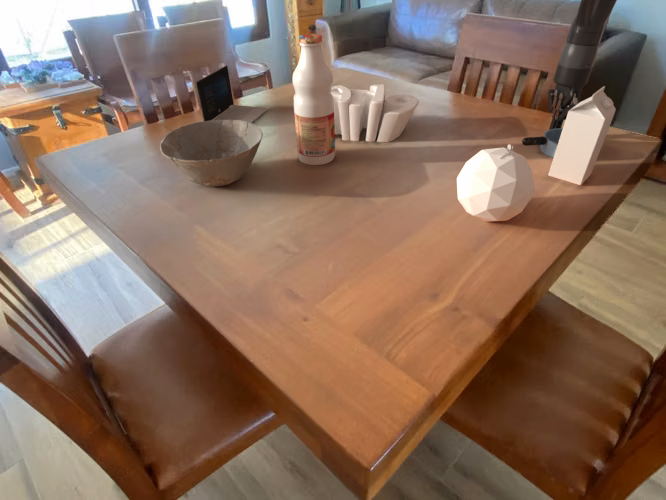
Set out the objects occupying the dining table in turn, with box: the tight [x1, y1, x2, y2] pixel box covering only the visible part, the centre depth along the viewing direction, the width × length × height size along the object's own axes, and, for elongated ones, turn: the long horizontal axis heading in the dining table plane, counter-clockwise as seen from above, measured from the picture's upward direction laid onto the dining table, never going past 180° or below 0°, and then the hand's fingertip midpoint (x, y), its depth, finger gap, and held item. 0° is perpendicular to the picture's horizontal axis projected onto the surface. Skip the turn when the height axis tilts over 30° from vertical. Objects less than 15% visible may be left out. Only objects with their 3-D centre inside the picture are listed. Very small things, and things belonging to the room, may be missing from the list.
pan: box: [521, 127, 563, 158], centre depth 106 cm, size 18×12×4 cm
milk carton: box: [547, 85, 617, 186], centre depth 91 cm, size 7×7×19 cm
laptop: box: [195, 64, 269, 124], centre depth 126 cm, size 18×12×13 cm
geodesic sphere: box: [456, 143, 536, 223], centre depth 81 cm, size 15×14×14 cm
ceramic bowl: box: [159, 120, 264, 188], centre depth 97 cm, size 22×23×10 cm
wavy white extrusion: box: [293, 83, 420, 143], centre depth 118 cm, size 35×16×10 cm, turn 77°
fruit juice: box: [291, 33, 336, 166], centre depth 99 cm, size 9×9×28 cm
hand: (553, 132), depth 112 cm, fingers closed
